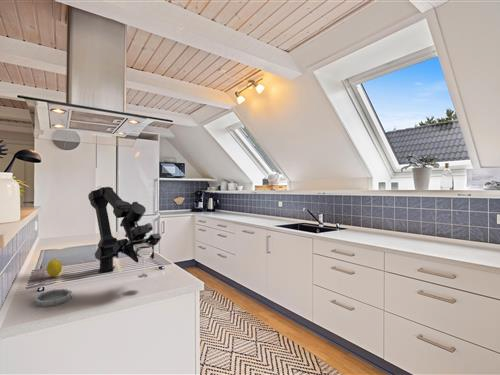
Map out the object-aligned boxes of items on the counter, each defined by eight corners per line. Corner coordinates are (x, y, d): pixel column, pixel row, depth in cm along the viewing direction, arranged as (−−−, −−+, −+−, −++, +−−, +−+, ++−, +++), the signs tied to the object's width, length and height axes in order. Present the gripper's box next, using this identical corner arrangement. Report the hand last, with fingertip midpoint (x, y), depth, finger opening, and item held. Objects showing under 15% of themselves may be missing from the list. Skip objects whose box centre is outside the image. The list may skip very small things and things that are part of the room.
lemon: (51, 274, 128) (51, 257, 127) (64, 274, 128) (64, 257, 128) (43, 279, 122) (43, 261, 122) (57, 279, 123) (57, 261, 122)
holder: (42, 295, 107) (42, 290, 107) (75, 292, 110) (75, 287, 110) (28, 308, 97) (28, 303, 97) (65, 305, 100) (65, 300, 100)
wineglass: (131, 277, 112) (131, 247, 112) (140, 271, 119) (141, 243, 118) (146, 279, 111) (147, 249, 110) (155, 273, 118) (156, 244, 117)
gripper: (116, 219, 109) (130, 254, 103) (159, 215, 123) (174, 244, 117) (107, 236, 114) (120, 269, 108) (149, 229, 129) (162, 259, 122)
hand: (145, 260), depth 114 cm, fingers closed on wineglass, 6 cm apart
